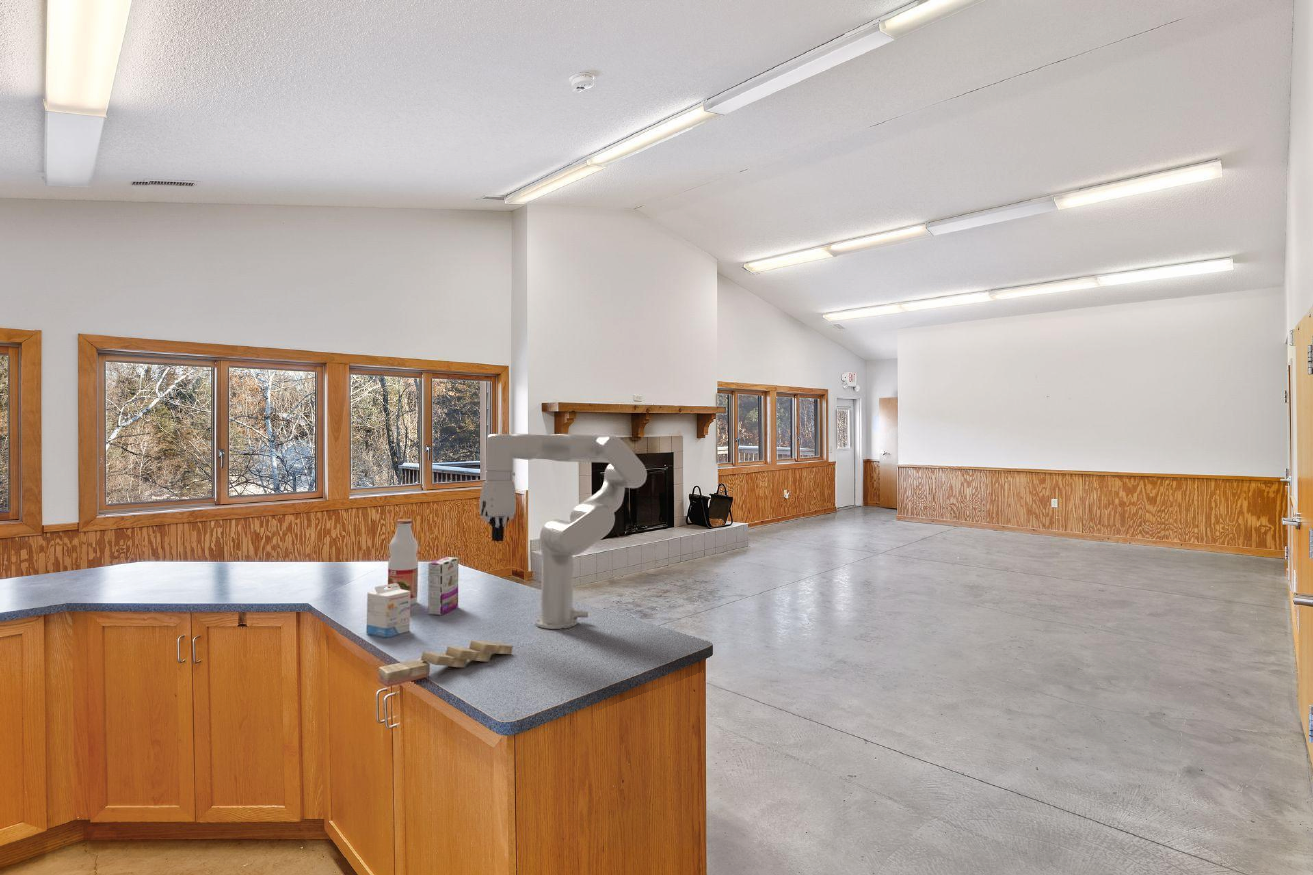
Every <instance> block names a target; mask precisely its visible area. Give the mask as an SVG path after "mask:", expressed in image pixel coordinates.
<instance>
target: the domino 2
mask: <svg viewBox="0 0 1313 875" xmlns="http://www.w3.org/2000/svg"><path fill="white" fill-rule="evenodd" d="M427 677H428V678H429V677H430V673H426V674H421V675H417V676H412V677H407V678H403V679H398V680H393V681H389V682H386V681H385V680H383V679H382V678H381V677H380V676H379V675H378V677H377V682H379V683H381V684H382V685H384V686H385V687H387V688H388V687H393V686H397V685H401V684H405V683H409V682H412V681H416V680H419V679H424V678H427Z"/></svg>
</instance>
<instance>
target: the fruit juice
mask: <svg viewBox="0 0 1313 875" xmlns="http://www.w3.org/2000/svg"><path fill="white" fill-rule="evenodd" d="M412 524H413V520H412V519H411V518H410V519H409V518H408V519H407V518H403V519H402V518H401V519H400V518H399V519H396V523H395V525H396V526H397V527H396V529H395V533H394V536H393V538H392V539H391V540H390V542H389V544H388V552H389V554H390V555H389V556H390V557H389V559H388V563H387V585H389V584H393V583H397V584H398V585H399V587H400V588H401V589H402V590H407V591H411V592H410V606H413V605H416V604H417V603H418V593H419V592H418V590H419V588H418V587H419V586H418V583H419V559H418V556H417V553H418V548H419V543H418V541H417V540H416V538H415V536H414V534H413V530H412ZM387 588H391V587H387Z"/></svg>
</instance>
